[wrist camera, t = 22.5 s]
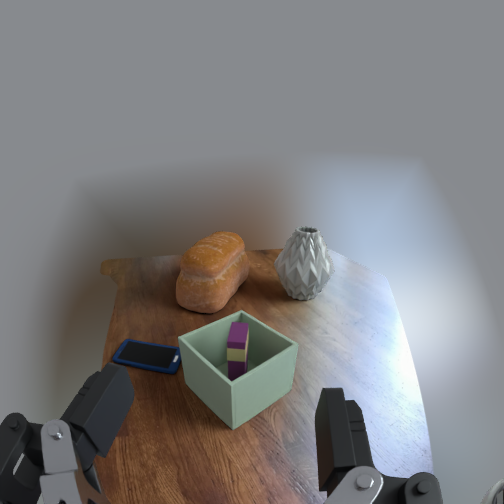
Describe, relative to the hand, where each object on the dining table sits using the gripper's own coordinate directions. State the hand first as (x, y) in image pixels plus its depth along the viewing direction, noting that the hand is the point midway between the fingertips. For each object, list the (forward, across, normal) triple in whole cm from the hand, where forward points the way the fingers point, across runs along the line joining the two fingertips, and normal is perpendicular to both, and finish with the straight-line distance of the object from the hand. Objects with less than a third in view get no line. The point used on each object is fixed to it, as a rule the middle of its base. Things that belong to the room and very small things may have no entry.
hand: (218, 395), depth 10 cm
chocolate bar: (+27, +3, +29) cm, 39 cm away
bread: (+62, +14, +30) cm, 70 cm away
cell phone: (+32, +21, +30) cm, 48 cm away
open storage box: (+27, +3, +30) cm, 40 cm away
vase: (+63, -11, +30) cm, 71 cm away
